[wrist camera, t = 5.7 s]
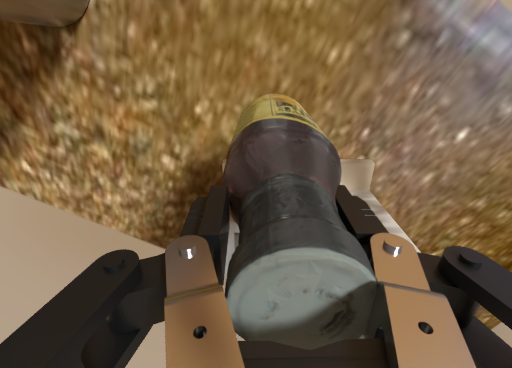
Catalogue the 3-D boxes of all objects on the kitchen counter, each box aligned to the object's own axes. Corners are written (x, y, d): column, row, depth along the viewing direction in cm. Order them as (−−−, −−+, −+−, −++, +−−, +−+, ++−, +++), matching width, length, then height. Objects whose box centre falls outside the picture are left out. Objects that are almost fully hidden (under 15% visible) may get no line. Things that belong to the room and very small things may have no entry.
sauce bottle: (318, 133, 25) (476, 343, 7) (263, 169, 27) (283, 412, 9) (279, 72, 22) (377, 161, 5) (222, 115, 24) (134, 302, 6)
